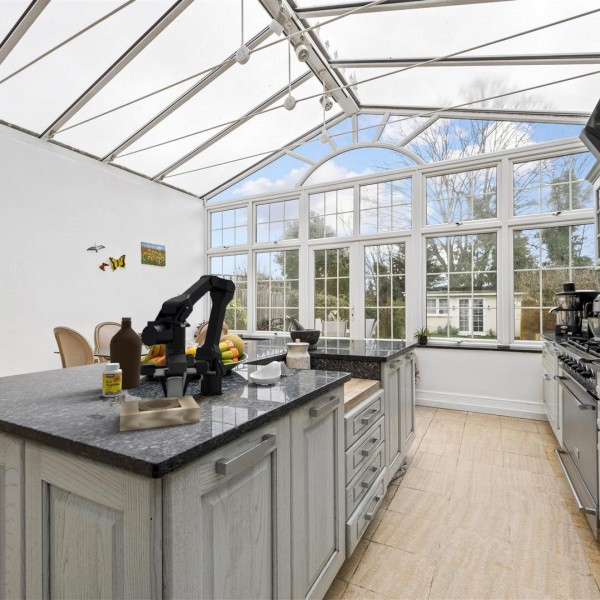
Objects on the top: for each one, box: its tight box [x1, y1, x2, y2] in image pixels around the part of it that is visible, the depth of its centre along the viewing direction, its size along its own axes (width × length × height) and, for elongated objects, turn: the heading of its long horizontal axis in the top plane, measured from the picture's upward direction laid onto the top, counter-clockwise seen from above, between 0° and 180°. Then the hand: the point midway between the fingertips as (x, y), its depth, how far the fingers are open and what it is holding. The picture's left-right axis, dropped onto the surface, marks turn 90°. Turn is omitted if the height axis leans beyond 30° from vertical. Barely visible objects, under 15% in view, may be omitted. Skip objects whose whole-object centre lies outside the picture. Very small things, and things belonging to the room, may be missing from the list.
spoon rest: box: [249, 360, 289, 385], centre depth 146 cm, size 24×12×7 cm, turn 161°
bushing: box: [166, 376, 184, 398], centre depth 108 cm, size 4×4×8 cm
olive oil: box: [109, 316, 143, 390], centre depth 134 cm, size 11×11×25 cm
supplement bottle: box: [101, 362, 122, 398], centre depth 121 cm, size 6×6×10 cm
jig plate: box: [119, 395, 201, 432], centre depth 96 cm, size 18×14×4 cm
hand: (174, 397), depth 108 cm, fingers closed on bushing, 4 cm apart
